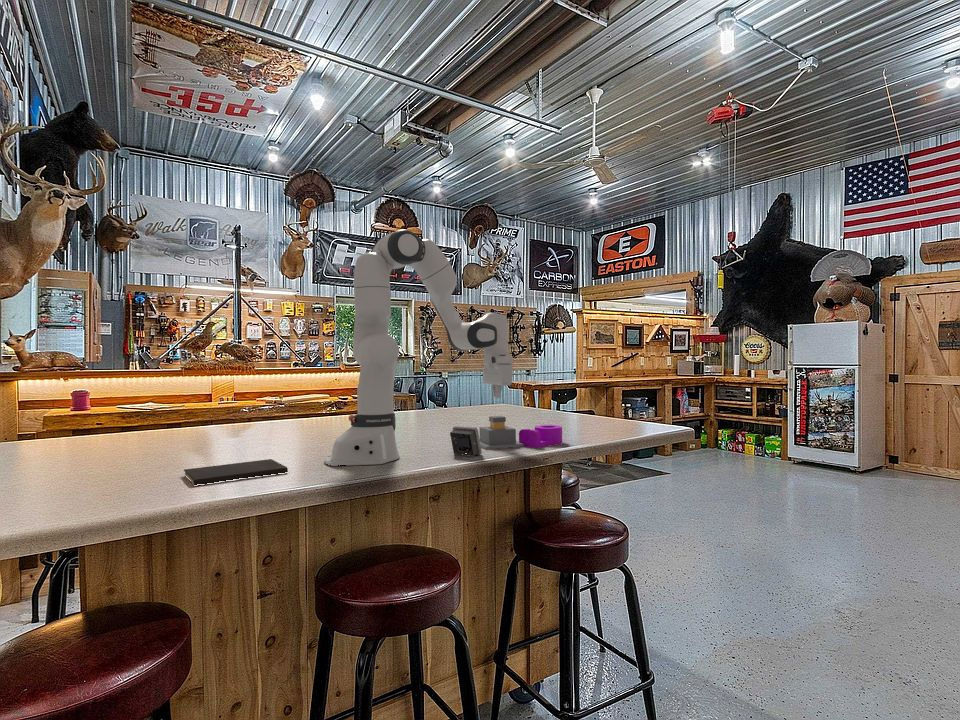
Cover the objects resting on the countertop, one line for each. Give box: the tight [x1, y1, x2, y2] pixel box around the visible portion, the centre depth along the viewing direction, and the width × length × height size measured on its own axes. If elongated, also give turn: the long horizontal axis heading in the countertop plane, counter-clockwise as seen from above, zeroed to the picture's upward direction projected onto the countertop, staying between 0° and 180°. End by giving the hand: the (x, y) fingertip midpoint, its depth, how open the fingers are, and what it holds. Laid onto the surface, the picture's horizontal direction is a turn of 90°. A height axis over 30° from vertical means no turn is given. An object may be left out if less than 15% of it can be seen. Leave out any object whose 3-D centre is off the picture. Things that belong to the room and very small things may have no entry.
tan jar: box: [488, 415, 507, 429], centre depth 188 cm, size 5×5×9 cm
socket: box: [479, 425, 525, 450], centre depth 188 cm, size 14×14×6 cm
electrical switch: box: [449, 425, 483, 457], centre depth 170 cm, size 9×5×9 cm, turn 57°
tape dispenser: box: [518, 424, 563, 449], centre depth 189 cm, size 16×10×6 cm, turn 132°
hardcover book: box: [183, 458, 289, 486], centre depth 145 cm, size 16×23×2 cm
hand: (497, 397), depth 188 cm, fingers closed
